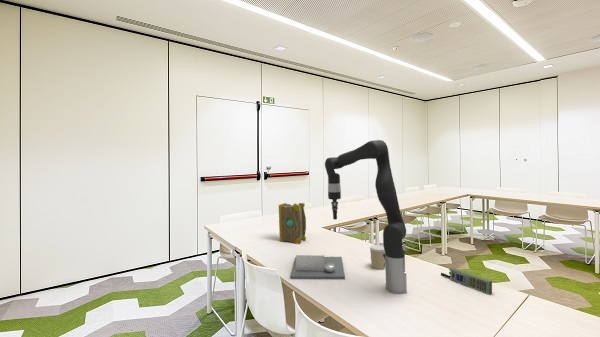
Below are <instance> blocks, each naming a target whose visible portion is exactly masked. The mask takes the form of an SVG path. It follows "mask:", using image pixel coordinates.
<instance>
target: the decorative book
mask: <svg viewBox="0 0 600 337" xmlns="http://www.w3.org/2000/svg"><path fill="white" fill-rule="evenodd" d="M305 204H306V203H304V202H299V203H298V204H297V203H293V204H290V203H289V204H288V203H285V202H284V203H281V204H279V205H278V219H279V220H278V227H279V228H278V229H279V242H290V243H294V244H295V243H298V244H297V245H301V244H302V242H303V241H306V240H307V237H306V230H307V218H306V212H305V208H304V207H305ZM301 240H303V241H301ZM300 243H301V244H300Z"/></svg>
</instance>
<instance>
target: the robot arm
mask: <svg viewBox="0 0 600 337" xmlns="http://www.w3.org/2000/svg"><path fill="white" fill-rule="evenodd" d="M371 159H372V160H375V161H376V166H377V172H376V177H375V190H376V195H377V196H376V197H377V199H378V202H379V203H380V204H381V206H382V208H383V210H384V212H385V214H386V218H387V225H386V226H384V228H383V232H382V239H383V240H382V241H383V242H382V243H383V245H382V246H384V250H385V269H384V270H385V290H386V291H387V292H389V293H392V294H399V295H401V294H404V293H407V292H408V291H407V284H408V282H407V279H408V278H407V271H406V251H405V249H404V247H403V239H404V238H405V237H406V235H407V227H406V224H405V220H404V218H403V217H402V212H401V209H400V204H399V199H398V195H397V190H396V186H395V181H394V178H393V173H392V169H391V164H390V163H391V162H390V155H389V148H388V145H387V143H386V142H385V141H384V140H382V139H381V140H380V139H377V140H376V139H375V140H370V141H368V142H365V143H364V144H362V145H361V146H359V147H357V148H355V149H353V150H350V151H346V152H344V153H341V154H339V155H338V156H336V157H335V156H334V157H328V158H326V160H325V161H324V167H325V170H326V175H327V198H328V199H329V200H332V201H331V210H332V219H333V220H335V221H336V220H338V210H339V207H338V205H339V201H337V200H341V198H342V193H341V192H342V189H341V188H342V187H341V175H340V174H339V173H338V172H336V171H335V170H339V169H342V168H343V167H346V166H349V165H352V164H354V163H357V162H359V161H361V160H371Z"/></svg>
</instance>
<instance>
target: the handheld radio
mask: <svg viewBox="0 0 600 337" xmlns="http://www.w3.org/2000/svg"><path fill="white" fill-rule="evenodd" d="M448 268H449V269H448V271H449V272H448V274H449V275H448V274H446V273H443V272H441V273H440V276H443V277H445V278H449V280H450V281H452V282H454V283H457V284H460V285H463V286H465V287H468V288H471V289H474V290H476V291H479V292H481V293H483V294H486V295H493V281H492V279H488V278H485V277H482V276H479V275H477V274H473V273H471V272H468V271H465V270H462V269H458V268H456V267H453V266H448Z"/></svg>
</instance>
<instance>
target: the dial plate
mask: <svg viewBox="0 0 600 337" xmlns="http://www.w3.org/2000/svg"><path fill="white" fill-rule="evenodd" d="M326 263H333V264H335V271H334V272H326V271H325V270H297V268H296V256H295V258H294V261H293V264H292V267H291V271H290V275H289V279H290V280H346V275H345V268H344V263H343V257H342V256H324V265H325V264H326Z"/></svg>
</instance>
